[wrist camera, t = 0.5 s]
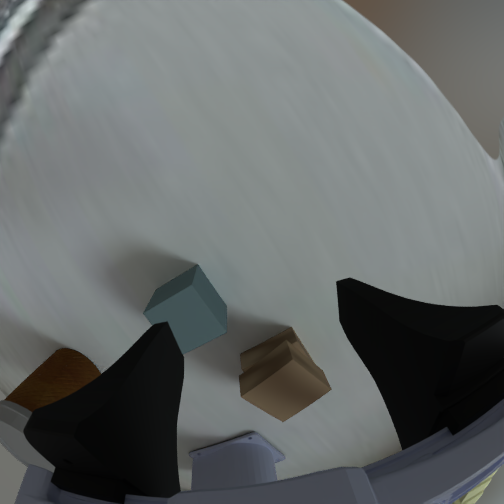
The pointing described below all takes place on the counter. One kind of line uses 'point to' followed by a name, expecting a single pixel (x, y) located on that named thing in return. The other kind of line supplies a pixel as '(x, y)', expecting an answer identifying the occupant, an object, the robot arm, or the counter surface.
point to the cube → (189, 309)
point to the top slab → (283, 382)
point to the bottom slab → (271, 348)
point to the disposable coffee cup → (41, 400)
